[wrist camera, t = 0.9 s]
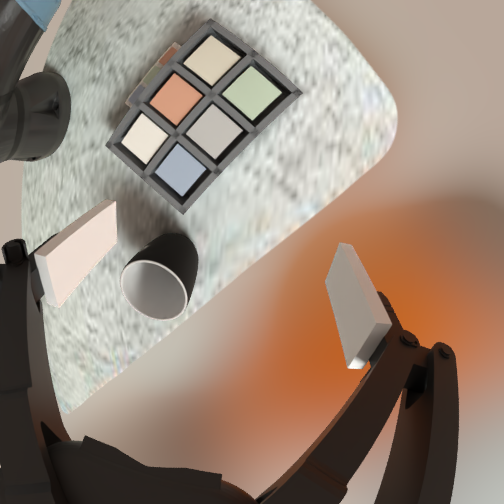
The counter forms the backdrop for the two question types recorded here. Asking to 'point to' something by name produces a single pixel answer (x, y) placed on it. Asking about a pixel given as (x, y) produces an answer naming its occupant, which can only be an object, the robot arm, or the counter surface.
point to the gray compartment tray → (200, 114)
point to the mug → (161, 277)
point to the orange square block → (177, 99)
